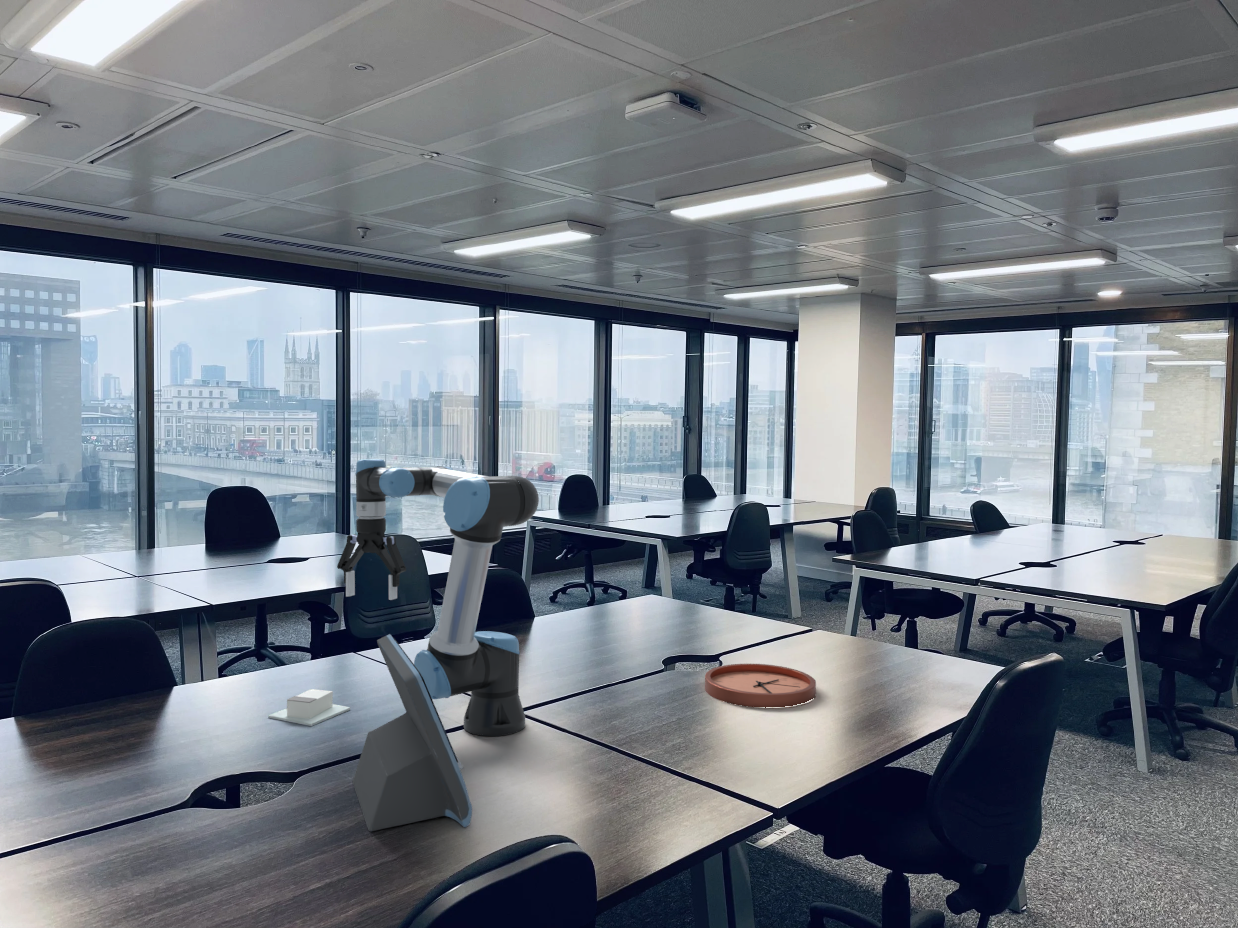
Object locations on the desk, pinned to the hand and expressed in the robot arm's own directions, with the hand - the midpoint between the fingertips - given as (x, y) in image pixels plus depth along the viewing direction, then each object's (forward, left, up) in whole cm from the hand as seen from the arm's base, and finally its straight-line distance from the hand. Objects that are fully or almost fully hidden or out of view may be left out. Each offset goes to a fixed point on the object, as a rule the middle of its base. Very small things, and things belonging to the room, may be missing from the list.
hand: (371, 597), depth 229 cm
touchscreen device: (-46, +43, -29) cm, 69 cm away
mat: (+8, +13, -28) cm, 32 cm away
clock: (-91, -59, -29) cm, 112 cm away
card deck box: (+8, +13, -28) cm, 32 cm away
